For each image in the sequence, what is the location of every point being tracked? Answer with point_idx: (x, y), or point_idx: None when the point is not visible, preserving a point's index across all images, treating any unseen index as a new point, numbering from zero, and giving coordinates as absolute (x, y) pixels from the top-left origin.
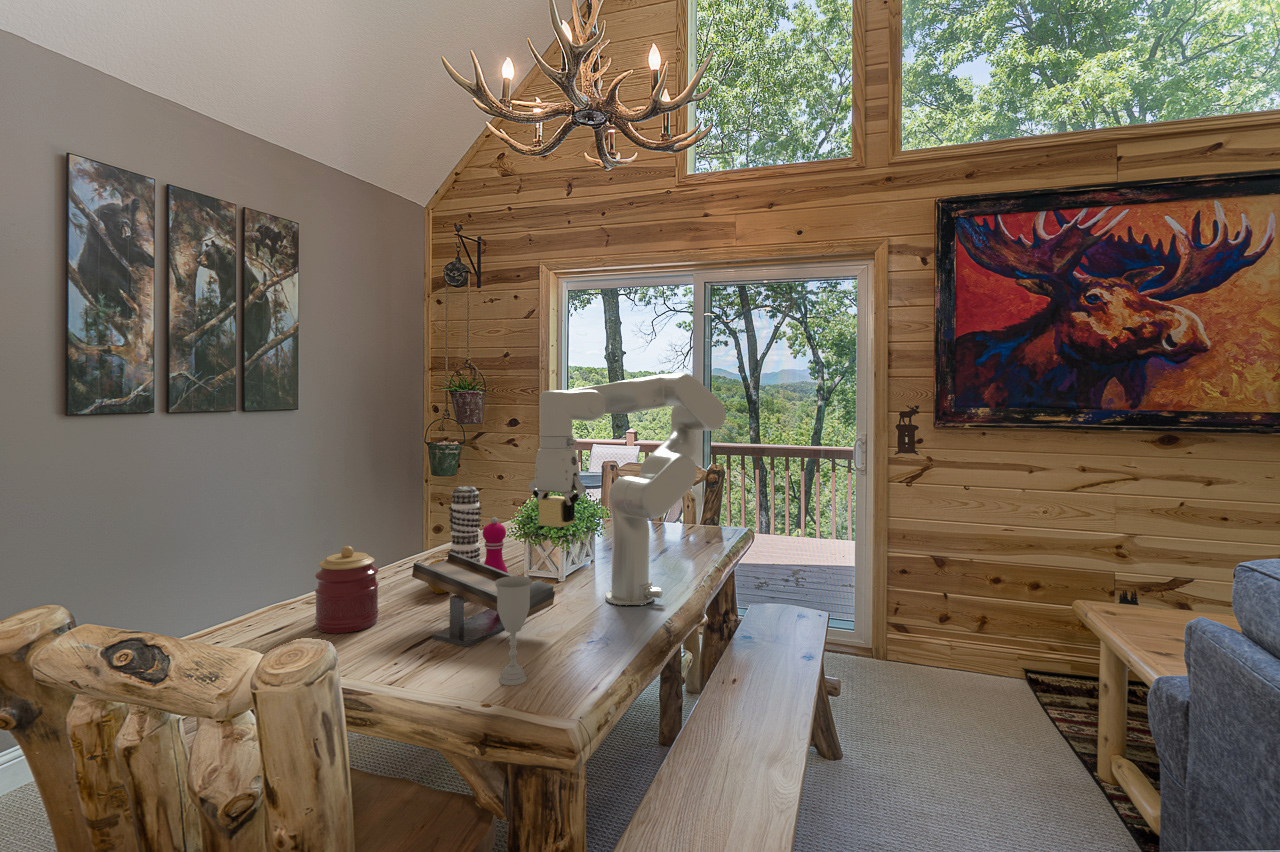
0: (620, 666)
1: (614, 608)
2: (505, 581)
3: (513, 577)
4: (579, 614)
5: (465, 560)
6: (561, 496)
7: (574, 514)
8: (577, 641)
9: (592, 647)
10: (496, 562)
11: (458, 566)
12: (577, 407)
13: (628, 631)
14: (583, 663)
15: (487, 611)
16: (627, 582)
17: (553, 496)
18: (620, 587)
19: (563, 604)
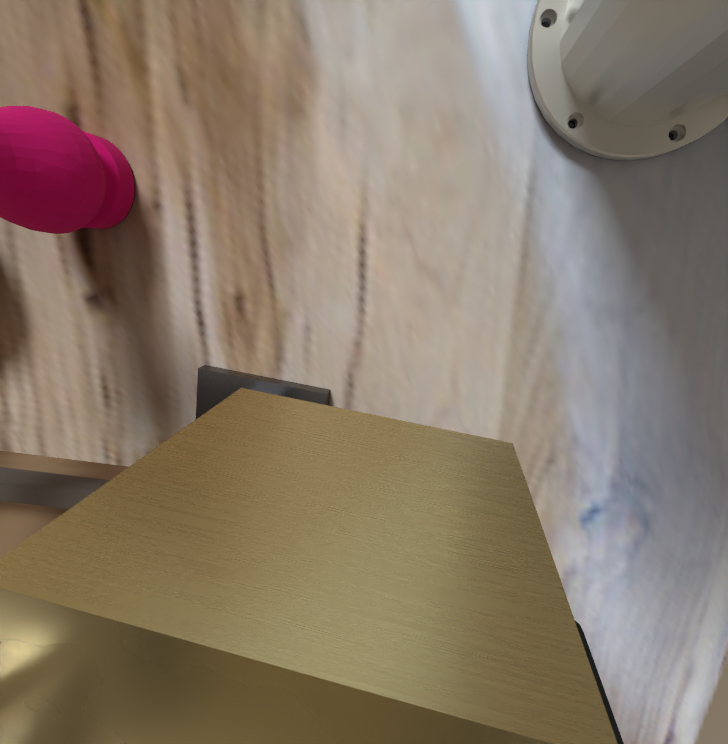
0: (713, 641)
1: (597, 195)
2: None
3: None
4: (482, 306)
5: (10, 498)
6: (216, 663)
7: (584, 638)
8: (550, 521)
9: (606, 550)
10: (11, 192)
11: (19, 507)
12: None
13: (698, 413)
14: (608, 639)
15: (208, 408)
16: (700, 98)
17: (51, 678)
18: (643, 107)
19: (386, 220)
